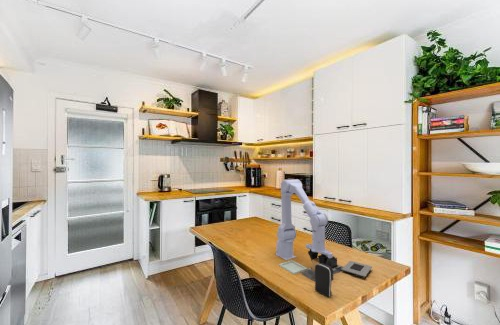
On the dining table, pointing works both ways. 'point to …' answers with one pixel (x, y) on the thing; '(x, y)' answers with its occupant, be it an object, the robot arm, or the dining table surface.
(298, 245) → the dining table surface
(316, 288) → the battery charger
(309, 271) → the pdu strip
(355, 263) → the electrical outlet
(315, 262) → the plug
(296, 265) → the tray
